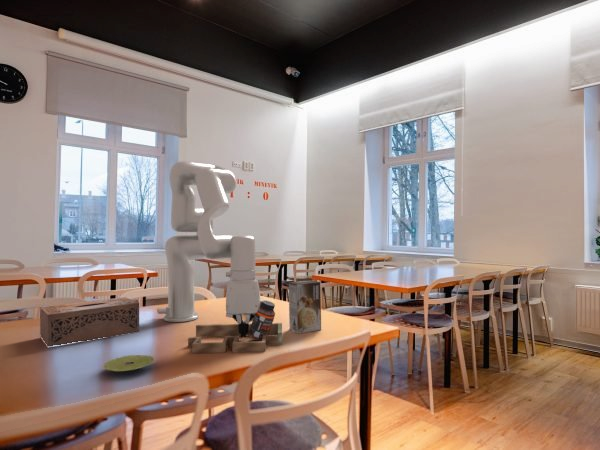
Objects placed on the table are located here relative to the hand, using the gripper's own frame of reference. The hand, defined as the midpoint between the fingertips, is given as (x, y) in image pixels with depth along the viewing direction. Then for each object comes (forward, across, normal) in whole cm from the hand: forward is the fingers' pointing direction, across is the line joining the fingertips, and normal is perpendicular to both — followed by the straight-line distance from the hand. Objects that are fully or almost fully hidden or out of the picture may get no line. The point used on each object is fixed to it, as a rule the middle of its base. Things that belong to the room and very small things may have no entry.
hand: (243, 335), depth 117 cm
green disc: (+2, -25, -23) cm, 34 cm away
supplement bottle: (+1, +4, 0) cm, 4 cm away
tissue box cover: (+2, -51, +10) cm, 52 cm away
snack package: (+2, 0, +39) cm, 39 cm away
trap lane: (+1, -2, -2) cm, 3 cm away
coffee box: (+2, +19, +11) cm, 22 cm away
